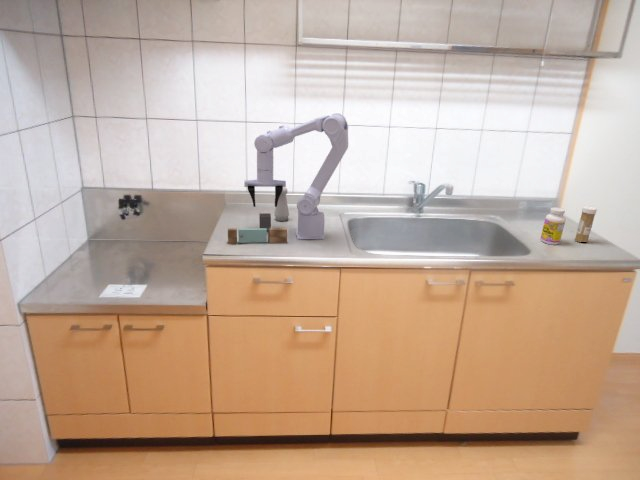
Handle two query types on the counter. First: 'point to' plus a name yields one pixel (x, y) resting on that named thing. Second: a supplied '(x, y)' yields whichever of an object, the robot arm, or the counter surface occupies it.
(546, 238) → the supplement bottle
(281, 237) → the wall
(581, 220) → the sprinkles bottle
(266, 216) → the block
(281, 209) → the salt shaker
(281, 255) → the counter surface
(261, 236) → the door
